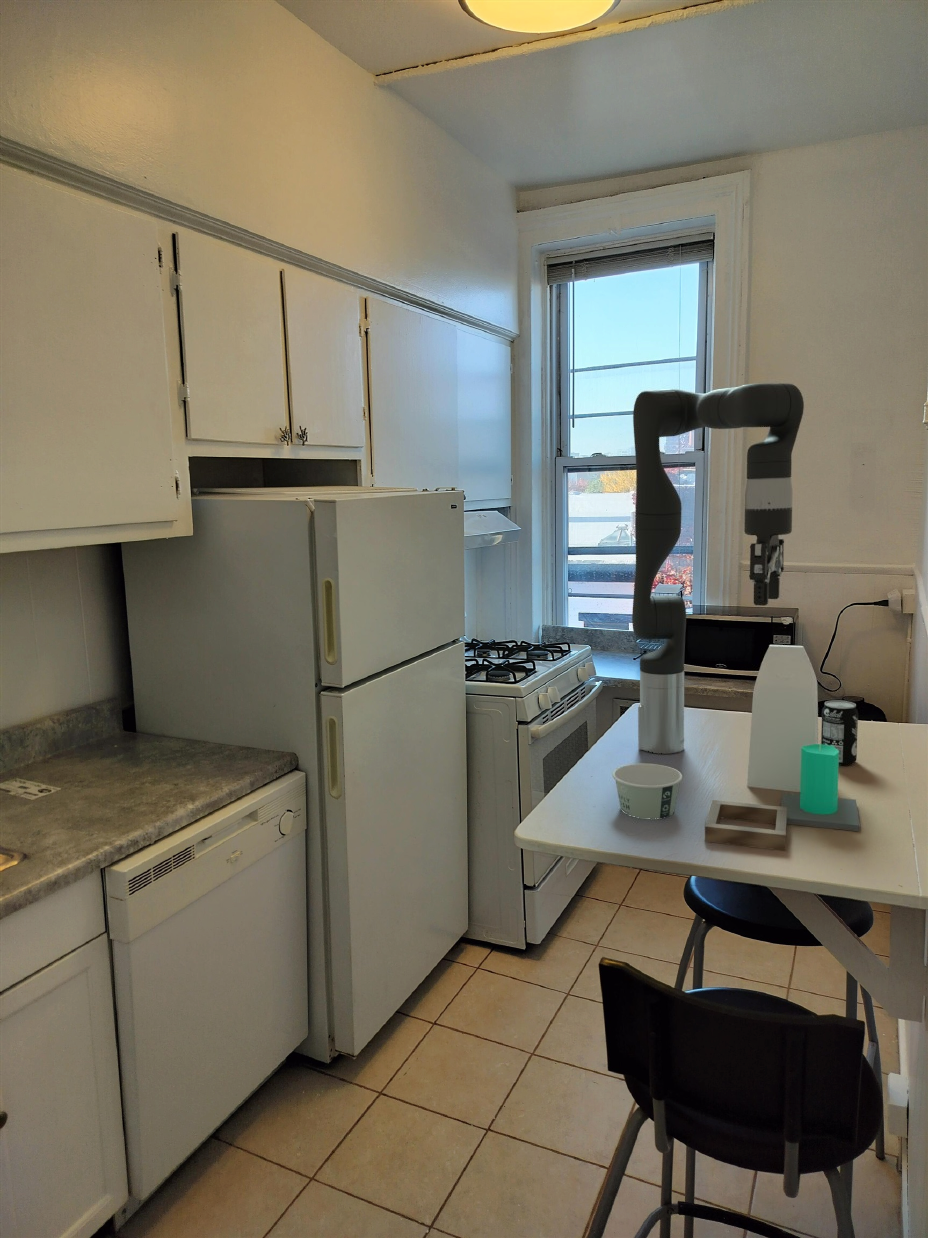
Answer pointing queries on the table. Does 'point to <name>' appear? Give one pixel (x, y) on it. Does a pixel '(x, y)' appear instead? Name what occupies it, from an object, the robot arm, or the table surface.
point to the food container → (647, 789)
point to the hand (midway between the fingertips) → (766, 601)
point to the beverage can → (841, 729)
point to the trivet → (839, 820)
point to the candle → (819, 779)
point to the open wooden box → (746, 834)
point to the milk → (782, 718)
